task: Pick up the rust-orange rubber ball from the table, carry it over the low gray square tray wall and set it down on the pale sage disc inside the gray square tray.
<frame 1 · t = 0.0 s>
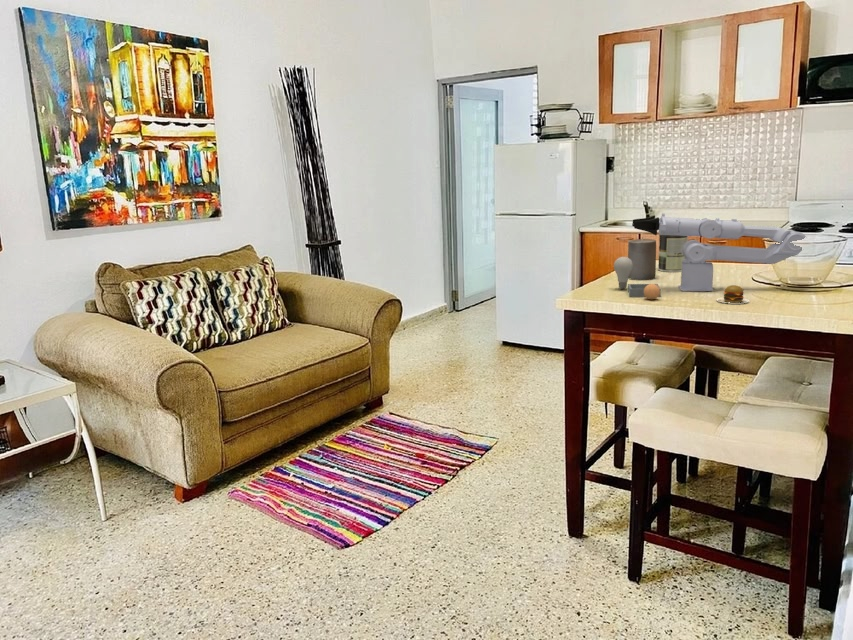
hand: (633, 223, 216), 22 cm above the table, tool horizontal, fingers open, 7 cm apart
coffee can: (672, 270, 255), on the table
lightbulb: (622, 290, 221), on the table
ball: (651, 299, 203), on the table
gray square tray: (643, 294, 212), on the table
hamburger: (732, 304, 196), on the table
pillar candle: (641, 278, 241), on the table
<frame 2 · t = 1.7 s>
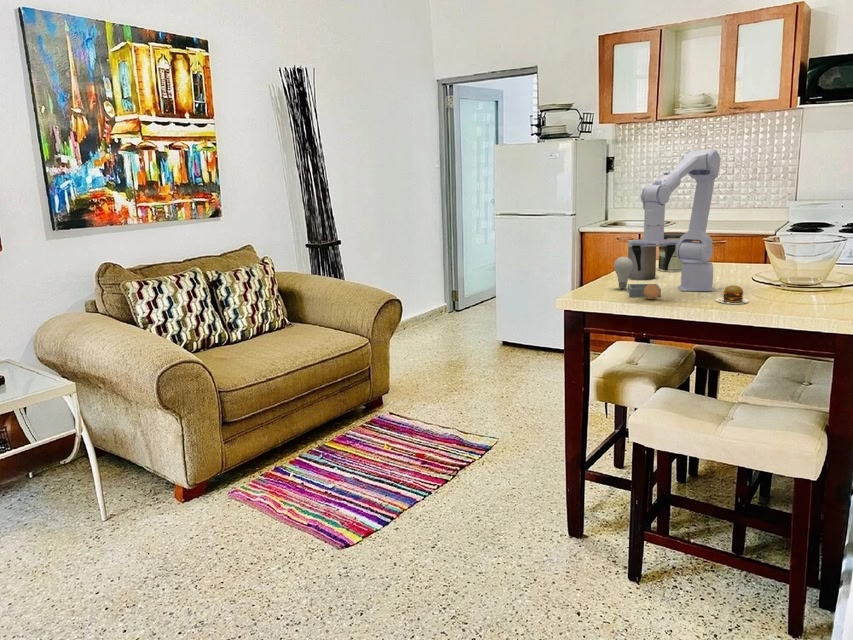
hand: (652, 270, 201), 9 cm above the table, tool pointing down, fingers open, 7 cm apart
nothing on the table moved.
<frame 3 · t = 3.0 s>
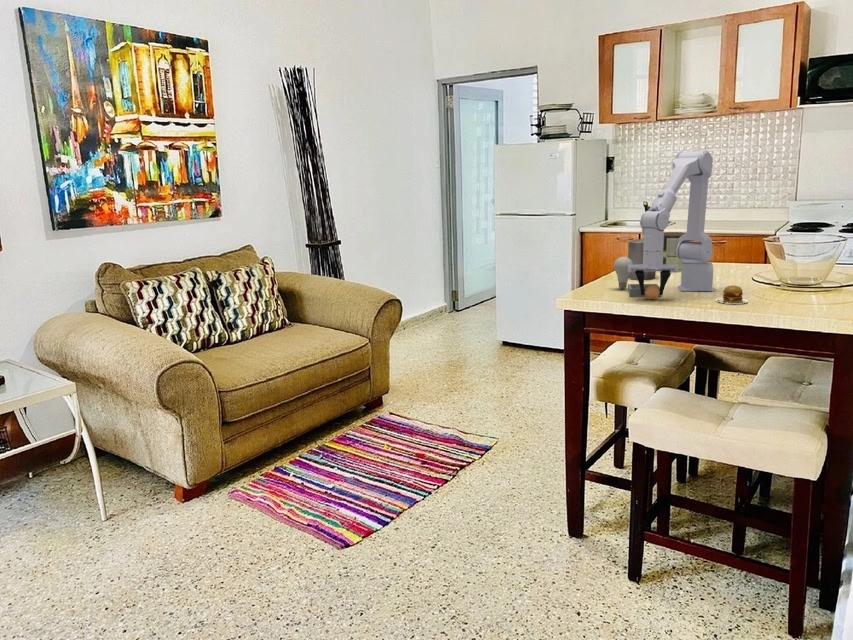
hand: (651, 294, 203), 1 cm above the table, tool pointing down, fingers closed on ball, 5 cm apart
ball: (651, 299, 203), on the table, touching gripper
everything else where it was.
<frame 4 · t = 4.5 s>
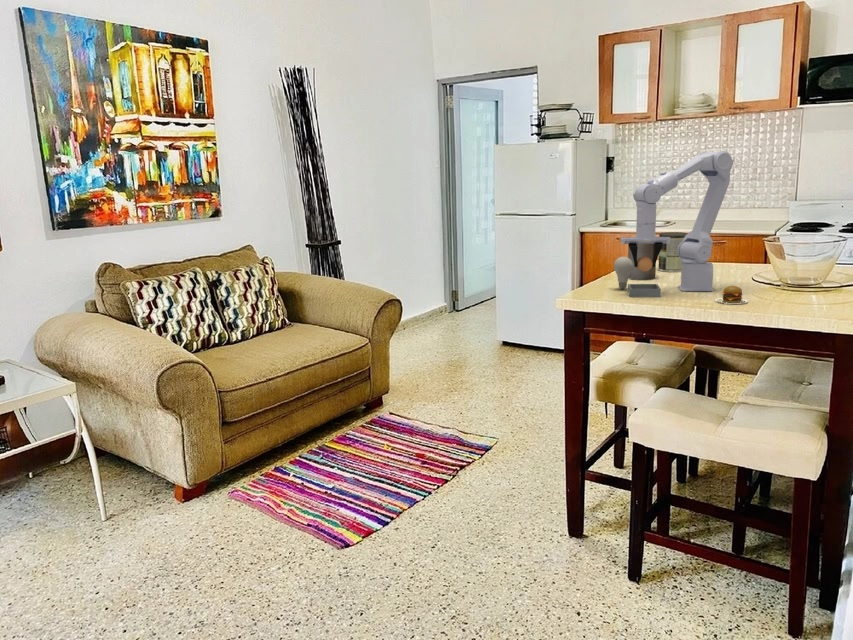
hand: (644, 266, 210), 9 cm above the table, tool pointing down, fingers closed on ball, 5 cm apart
ball: (644, 271, 210), point 7 cm above the table, touching gripper
everything else where it was.
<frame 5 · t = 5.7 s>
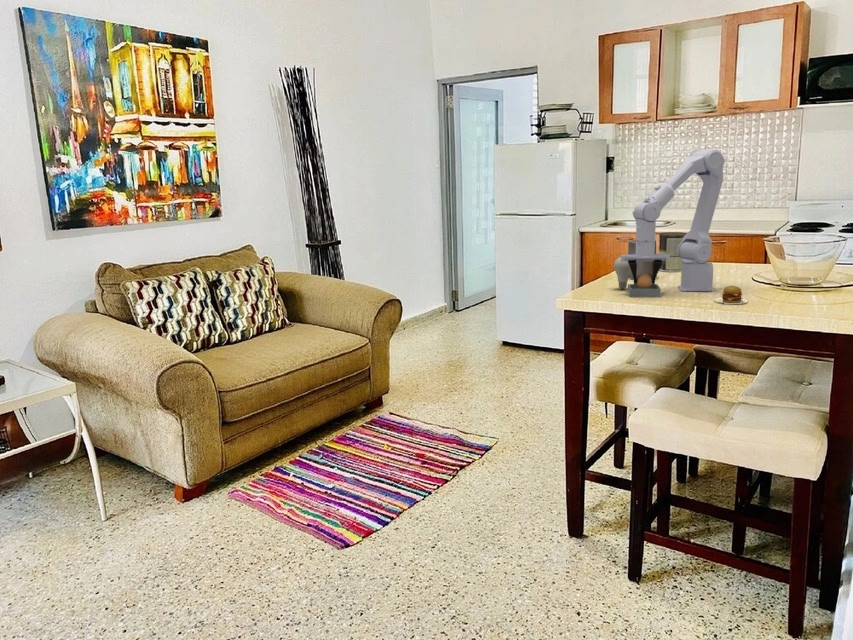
hand: (644, 283, 211), 3 cm above the table, tool pointing down, fingers closed on ball, 5 cm apart
ball: (643, 288, 211), point 2 cm above the table, touching gripper
everything else where it was.
when the fingers open (3 cm above the table, at t = 6.4 s): ball drops 2 cm, resting on gray square tray.
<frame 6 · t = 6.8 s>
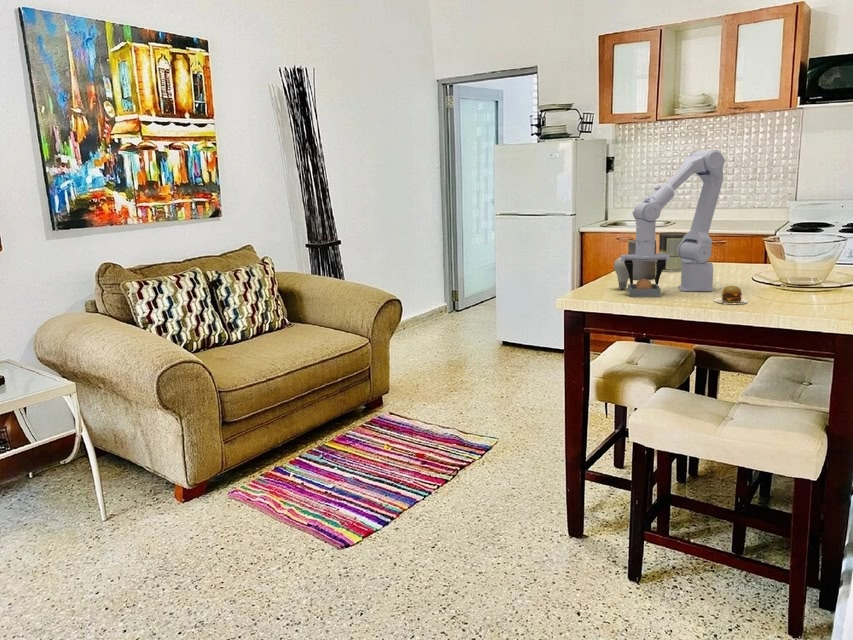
hand: (644, 283, 211), 3 cm above the table, tool pointing down, fingers open, 7 cm apart
ball: (643, 293, 211), resting on gray square tray
everything else where it was.
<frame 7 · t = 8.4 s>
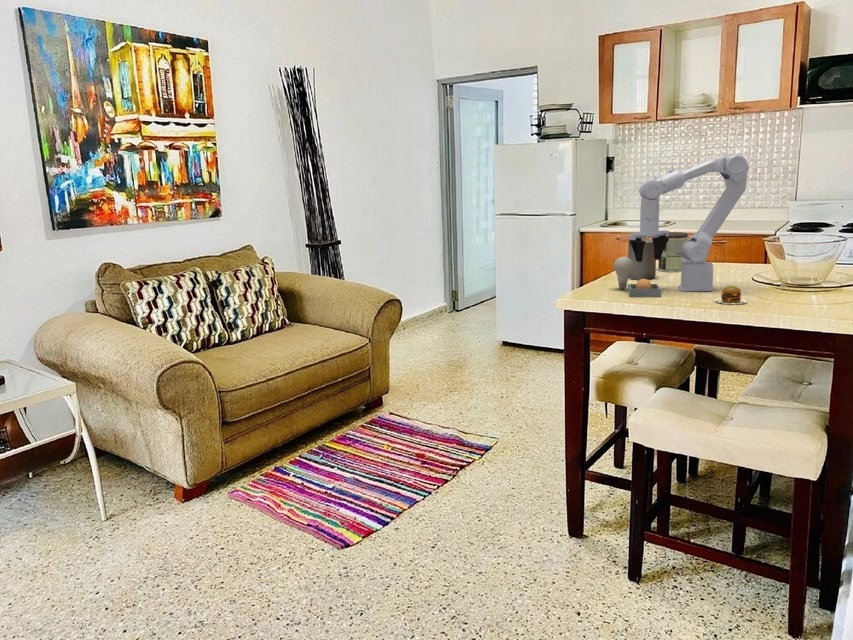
hand: (648, 260, 216), 10 cm above the table, tool pointing down, fingers open, 7 cm apart
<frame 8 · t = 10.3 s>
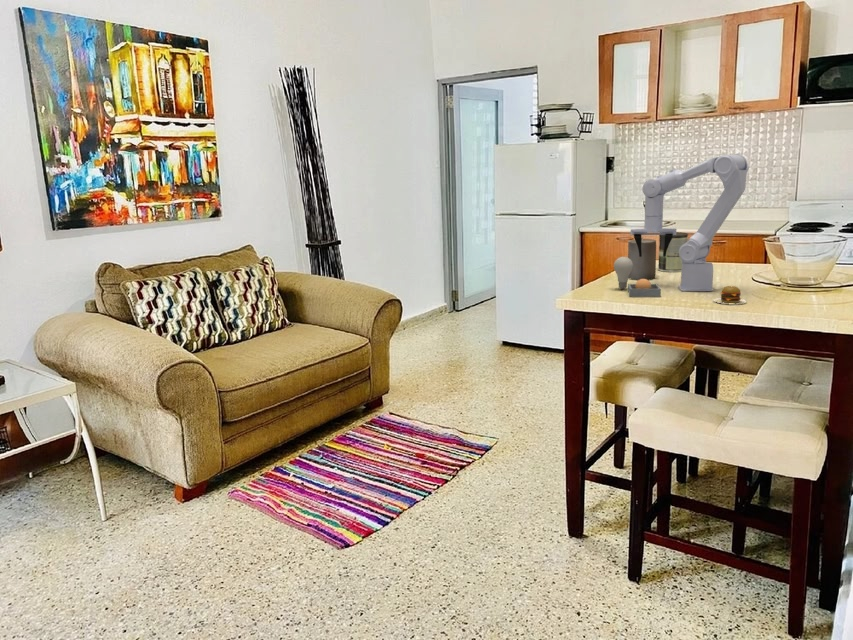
hand: (652, 256, 224), 10 cm above the table, tool pointing down, fingers open, 7 cm apart
at the end: ball 0.1 cm from the gray square tray (horizontally); ball resting on gray square tray; the gripper is holding nothing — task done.
